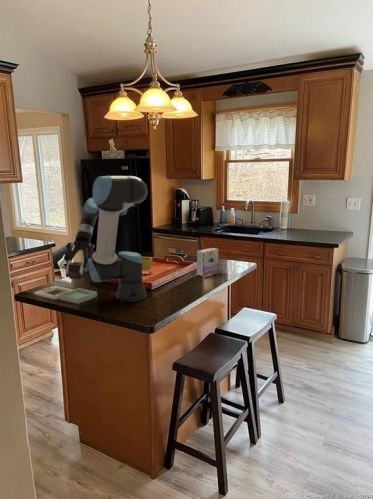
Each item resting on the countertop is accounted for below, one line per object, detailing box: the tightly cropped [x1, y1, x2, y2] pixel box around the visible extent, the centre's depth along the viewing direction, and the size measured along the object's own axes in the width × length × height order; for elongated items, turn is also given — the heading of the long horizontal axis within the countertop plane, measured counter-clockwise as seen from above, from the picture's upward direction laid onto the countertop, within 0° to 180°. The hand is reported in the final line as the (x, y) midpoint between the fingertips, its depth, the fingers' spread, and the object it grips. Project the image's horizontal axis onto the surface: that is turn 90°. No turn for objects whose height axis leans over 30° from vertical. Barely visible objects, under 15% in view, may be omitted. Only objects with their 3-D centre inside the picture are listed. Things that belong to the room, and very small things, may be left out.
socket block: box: [33, 285, 74, 300], centre depth 197 cm, size 16×14×2 cm
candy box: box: [196, 247, 220, 276], centre depth 231 cm, size 14×6×16 cm, turn 133°
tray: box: [58, 287, 98, 305], centre depth 190 cm, size 13×13×2 cm
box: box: [68, 261, 86, 280], centre depth 188 cm, size 6×6×7 cm
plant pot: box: [142, 256, 153, 270], centre depth 236 cm, size 10×10×10 cm
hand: (74, 272), depth 184 cm, fingers closed on box, 6 cm apart
